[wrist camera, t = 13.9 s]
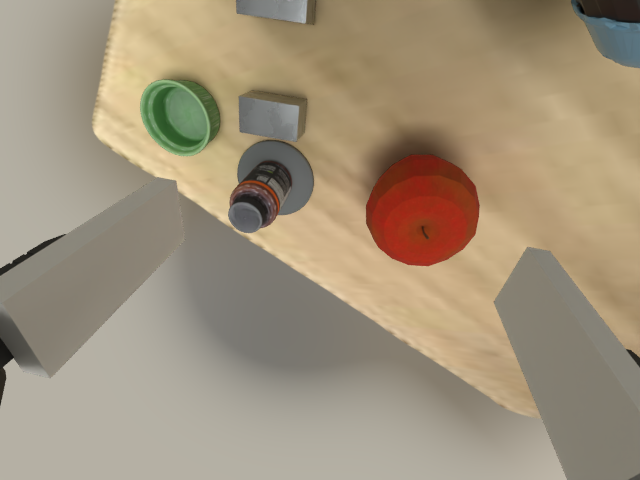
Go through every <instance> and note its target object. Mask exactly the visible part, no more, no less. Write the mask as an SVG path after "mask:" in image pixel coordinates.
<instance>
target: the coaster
mask: <svg viewBox="0 0 640 480" xmlns="http://www.w3.org/2000/svg"><path fill="white" fill-rule="evenodd" d="M264 161H274V162H277V163H279V164H281V165H283V166H284V167H285V168H286V169H287V170H288V172H289V173H290V175H291V179H292V188H291V191H290V193H289V195H288V197H287V200H285V202H284V204H283V206H282V208H281V209H280V211H279V213H278V215H287V214H291V213H294V212H296V211H298V210H300V209H301V208H302V207H303V206H304V205H305V204H306V203H307V202H308V200H309V198H310V196H311V194H312V191H313V186H314V178H313V172H312V169H311V167H310V165H309V163H308V161H307V159H306V158H305V157H304V156H303V154H302V153H301V152H300V151H298V150H297V149H296V148H294V147H293V146H291V145H289V144H287V143H284V142H281V141H276V140H266V141H262V142H259V143H256V144H254V145H253V146H252V147H250V148H249V149H248V150H247V151H246V152H245V153H244V154H243V156H242V157H241V159H240V162H239V165H238V173H237V175H238V181H239V184H240V183H241V182H242V180H243V179H244V178H245V177H246V176H247V175H248V174H249V173H250V172H251V171H252V170H253V169H254V168H255V167H256V166H257V165H258V164H259V163H261V162H264Z"/></svg>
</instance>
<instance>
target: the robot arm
mask: <svg viewBox="0 0 640 480" xmlns="http://www.w3.org/2000/svg"><path fill="white" fill-rule="evenodd" d="M571 3H572V6H573V10H574V11H575V13H576V15H577V16H579V17H580V18H581V19H582V20H583V21H584V22H585V24H586V26H587V28H588V31H589V33H590V35H591V37H592V39H593V41H594V43H595V46H596V47H597V49H598V51H599V52H600V53H601V54H602V55H603V56H604V57H606V58H608V59H612V60H613V61H614V62H616V63H619V64H621V65H623V66H627V67H634V68H640V0H571ZM184 240H185V236H184V229H183V222H182V215H181V209H180V202H179V196H178V189H177V183H176V181H175V180H170V179H164V178H159V177H157V178H155V179H154V180H152V181H151V182H149V183H148V184H146V185H144V186H143V187H141V188H140V189H138V190H136V191H135V192H133V193H132V194H130V195H128V196H127V197H125V198H124V199H122V200H120V201H119V202H117V203H116V204H114V205H112V206H111V207H109V208H108V209H106V210H104V211H103V212H101V213H100V214H98V215H97V216H95V217H93V218H92V219H90V220H89V221H87V222H85V223H84V224H82V225H81V226H79V227H77V228H76V229H75V230H73V231H71V232H69V233H68V234H64V235H61V236H58V237H56V238H53V239H50V240H48V241H45V242H43V243H41V244H40V245H38V246H37V247H35V248H33V249H32V250H30V251H28V252H27V254H26V255H24V254H23V255H22V256H20V257H18V258H17V259H15V260H13V262H12V264H10V263H9V264H7V265H5V266H4V267H2V268H0V405H1V400H2V395H3V391H4V386H5V381H6V372H5V370H4V369H3V367H4V366H5V365H6V364H7V363H8V362H9V361H10V360H12V359H13V358H14V359H15V361H16V362H17V363H18V365H19V366H20V368H21V369H22V370H23V372H26V373H30V374H35V375H39V376H43V377H47V378H51V377H52V376H53V375H54V374H55V373H56V372H57V371H58V370H59V369H60V368H61V367H62V366H63V365H64V364H65V363H66V362H67V361H68V360H69V359H70V358H71V357H72V356H73V355H74V354H75V353H76V352H77V351H78V349H79V348H80V347H81V346H82V345H83V344H84V343H85V342H86V341H87V340H88V339H89V338H90V337H91V336H92V335H93V334H94V333H95V332H96V331H97V329H99V328H100V327H101V326H102V325H103V324H104V323H105V321H107V320H108V319H109V318H110V317H111V315H112V314H113V313H114V312H115V311H116V310H117V309H118V308H119V307H120V306H121V305H122V304H123V303H124V302H125V301H126V300H127V299H128V298H129V297H130V296H131V295H132V294H133V293H134V292H135V291H136V289H138V288H139V287H140V286H141V285H142V283H143V282H144V281H145V280H146V279H147V278H148V277H149V276H150V275H151V274H152V273H153V272H154V271H155V270H156V269H157V268H158V267H159V266H160V265H161V264H162V263H163V262H164V261H165V260H166V259H167V258H168V257H169V256H170V255H171V254H172V253H173V252H174V250H175V249H176V248H177V247H178V246H179V245H180V244H181V243H182V242H183V241H184ZM494 304H495V306H496V309H497V311H498V314H499V316H500V318H501V321H502V323H503V326H504V328H505V330H506V333H507V335H508V338H509V340H510V343H511V345H512V347H513V350H514V352H515V355H516V357H517V360H518V362H519V364H520V367H521V369H522V372H523V374H524V376H525V379H526V381H527V384H528V386H529V389H530V391H531V393H532V396H533V398H534V401H535V403H536V405H537V408H538V410H539V413H540V415H541V418H542V420H543V422H544V425H545V427H546V429H547V432H548V434H549V437H550V439H551V441H552V444H553V446H554V449H555V451H556V454H557V456H558V459H559V461H560V463H561V466H562V468H563V471H564V473H565V476H566V478H567V480H640V358H639V357H638V356H637V355H636V354H635V353H634V352H632V351H631V350H628V349H625V348H624V347H623V345H622V344H621V343H620V341H619V340H618V339H617V338H616V336H615V335H614V334H613V332H612V331H611V330H610V328H609V327H608V326H607V325H606V323H605V322H604V321H603V319H602V318H601V317H600V315H599V314H598V313H597V312H596V310H595V309H594V308H593V306H592V305H591V304H590V303H589V301H588V300H587V299H586V297H585V296H584V295H583V293H582V292H581V291H580V290H579V288H578V287H577V286H576V284H575V283H574V282H573V280H572V279H571V278H570V277H569V275H568V274H567V273H566V271H565V270H564V269H563V267H562V266H561V265H560V264H559V262H558V261H557V260H556V258H555V257H554V256H553V255H552V253H551V252H550V251H547V250H541V249H536V248H531V247H527V248H526V250H525V252H524V253H523V255H522V257H521V258H520V260H519V261H518V263H517V265H516V266H515V268H514V270H513V271H512V273H511V275H510V276H509V278H508V280H507V281H506V283H505V284H504V286H503V288H502V289H501V291H500V293H499V294H498V296H497V298H496V299H495V301H494Z"/></svg>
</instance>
